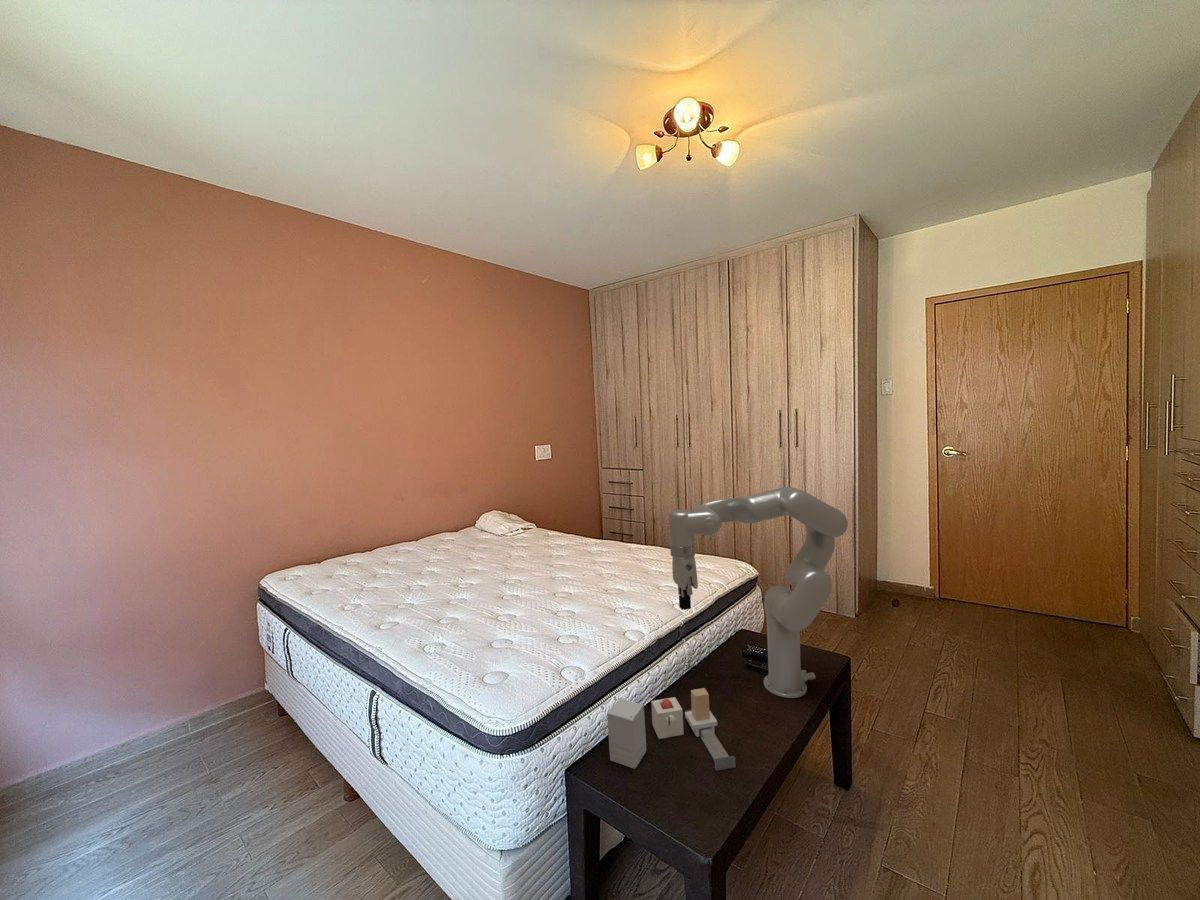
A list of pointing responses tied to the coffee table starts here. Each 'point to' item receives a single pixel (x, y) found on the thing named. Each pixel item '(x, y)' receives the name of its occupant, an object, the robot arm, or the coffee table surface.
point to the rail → (716, 749)
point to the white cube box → (667, 718)
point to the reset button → (666, 704)
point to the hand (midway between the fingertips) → (685, 608)
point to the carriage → (700, 712)
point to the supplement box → (626, 732)
